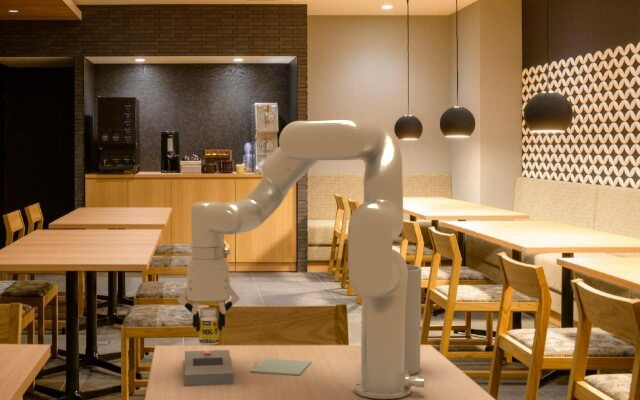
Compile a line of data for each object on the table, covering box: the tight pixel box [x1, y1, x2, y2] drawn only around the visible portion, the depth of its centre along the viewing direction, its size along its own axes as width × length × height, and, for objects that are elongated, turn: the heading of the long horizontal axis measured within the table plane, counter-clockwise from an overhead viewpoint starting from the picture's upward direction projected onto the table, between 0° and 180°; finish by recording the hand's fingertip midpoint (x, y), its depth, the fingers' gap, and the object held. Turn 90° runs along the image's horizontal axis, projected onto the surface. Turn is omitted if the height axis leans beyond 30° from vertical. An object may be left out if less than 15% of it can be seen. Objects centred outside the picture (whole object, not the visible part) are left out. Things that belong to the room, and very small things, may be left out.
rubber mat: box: [250, 358, 312, 377], centre depth 206 cm, size 12×12×1 cm
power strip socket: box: [184, 349, 235, 387], centre depth 202 cm, size 22×11×3 cm, turn 9°
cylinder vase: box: [404, 264, 422, 376], centre depth 203 cm, size 12×12×25 cm
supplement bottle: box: [198, 306, 220, 346], centre depth 201 cm, size 5×5×8 cm
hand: (209, 329), depth 202 cm, fingers closed on supplement bottle, 4 cm apart
